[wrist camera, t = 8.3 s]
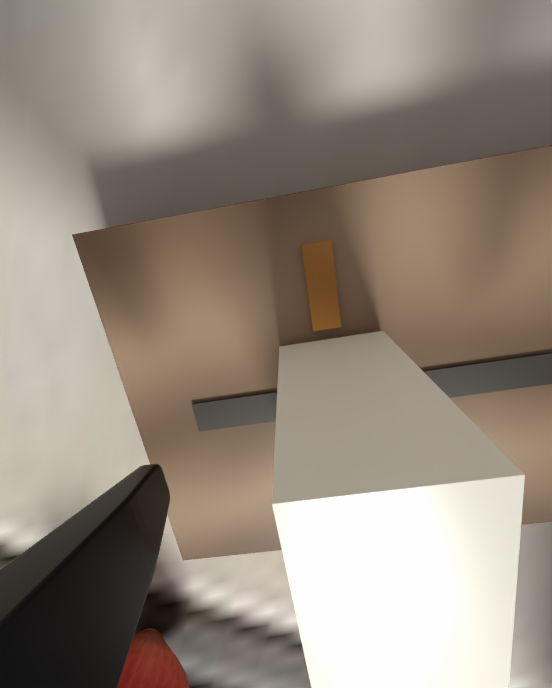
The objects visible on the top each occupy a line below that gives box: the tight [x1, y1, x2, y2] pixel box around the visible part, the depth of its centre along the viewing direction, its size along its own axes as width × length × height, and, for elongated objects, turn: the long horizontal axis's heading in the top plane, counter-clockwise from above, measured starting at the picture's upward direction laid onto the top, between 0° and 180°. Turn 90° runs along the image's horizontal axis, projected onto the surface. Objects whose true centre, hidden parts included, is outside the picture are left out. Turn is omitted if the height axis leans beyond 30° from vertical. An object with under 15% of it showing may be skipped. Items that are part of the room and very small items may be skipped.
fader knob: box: [272, 331, 525, 688], centre depth 8 cm, size 4×3×6 cm
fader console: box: [72, 145, 552, 560], centre depth 11 cm, size 12×25×2 cm, turn 100°
